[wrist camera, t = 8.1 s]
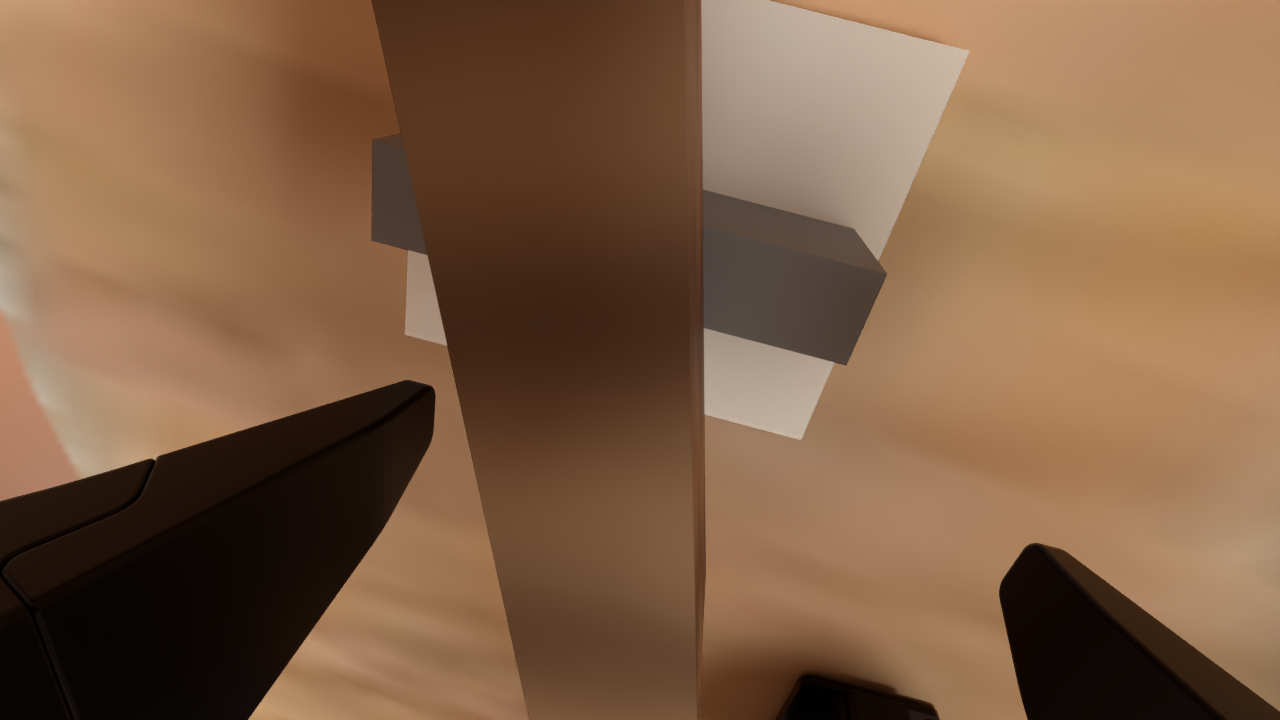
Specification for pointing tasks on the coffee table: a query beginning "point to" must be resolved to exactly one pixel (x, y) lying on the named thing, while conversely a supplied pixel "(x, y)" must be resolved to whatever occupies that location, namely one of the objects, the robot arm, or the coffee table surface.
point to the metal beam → (572, 322)
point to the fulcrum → (768, 197)
